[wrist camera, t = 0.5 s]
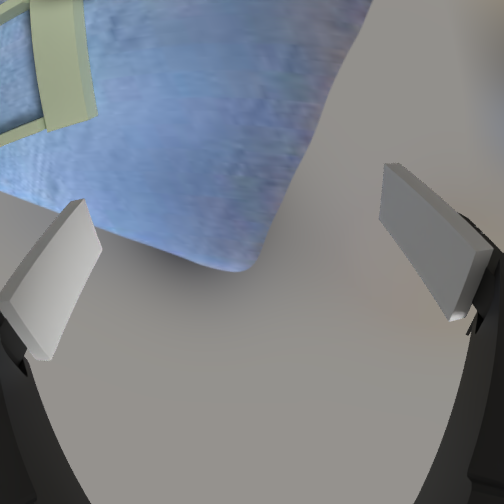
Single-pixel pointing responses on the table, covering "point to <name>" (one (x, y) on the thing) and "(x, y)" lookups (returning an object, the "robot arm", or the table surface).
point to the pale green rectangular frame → (56, 64)
